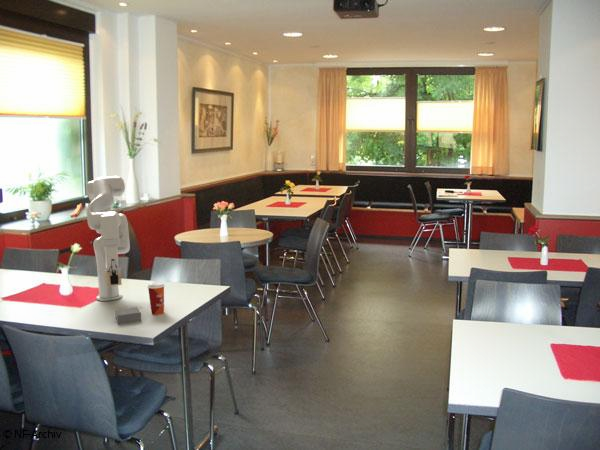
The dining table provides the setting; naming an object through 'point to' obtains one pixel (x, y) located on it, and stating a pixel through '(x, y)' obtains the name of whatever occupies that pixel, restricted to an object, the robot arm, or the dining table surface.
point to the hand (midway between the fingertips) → (113, 282)
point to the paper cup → (156, 297)
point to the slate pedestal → (127, 315)
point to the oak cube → (109, 277)
